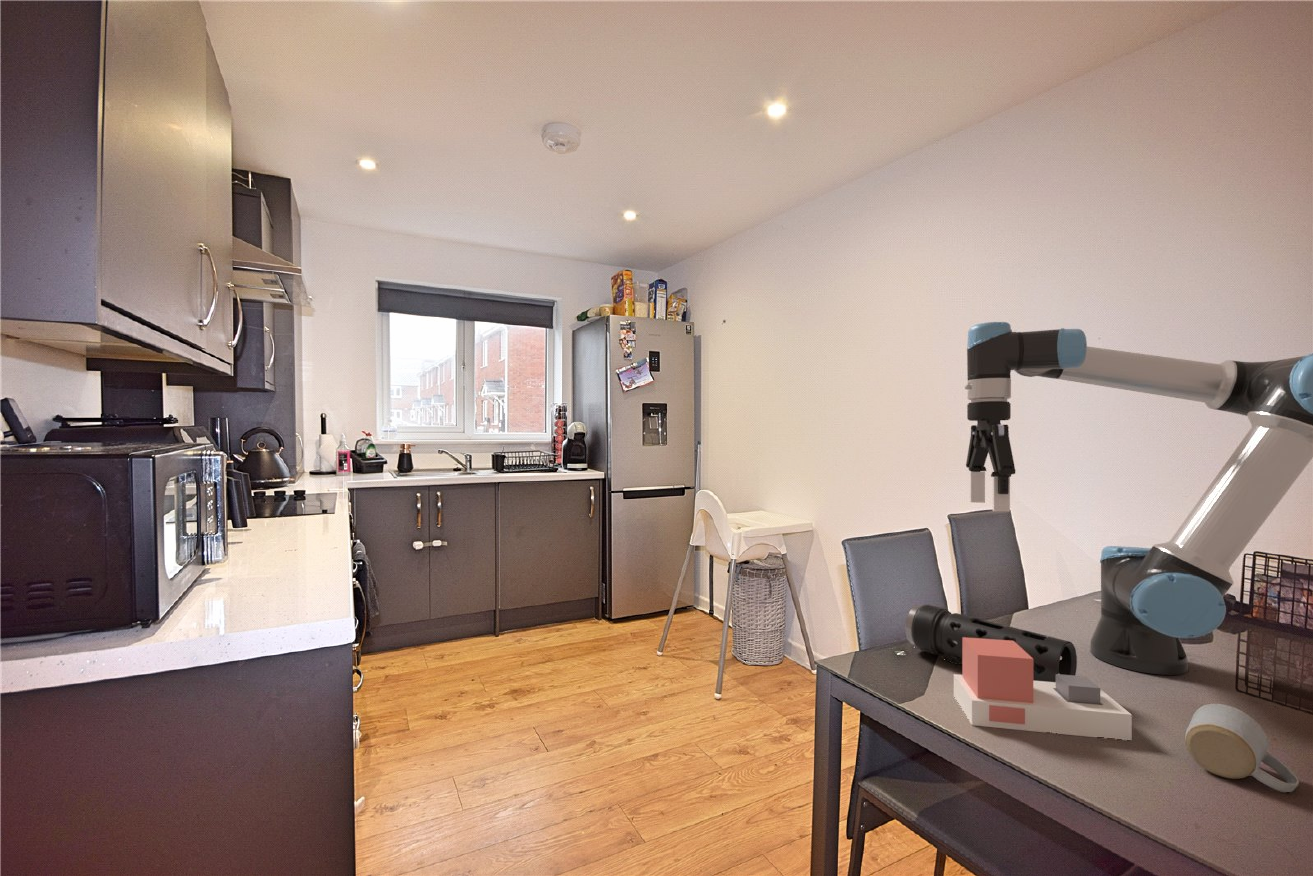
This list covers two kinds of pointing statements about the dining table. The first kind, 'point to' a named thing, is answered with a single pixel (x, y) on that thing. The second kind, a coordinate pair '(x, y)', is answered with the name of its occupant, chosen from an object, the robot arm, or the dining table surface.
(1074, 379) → the robot arm
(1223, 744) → the ceramic mug
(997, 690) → the salmon red cube
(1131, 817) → the dining table surface
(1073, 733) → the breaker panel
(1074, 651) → the muzzle brake
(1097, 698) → the button plain
